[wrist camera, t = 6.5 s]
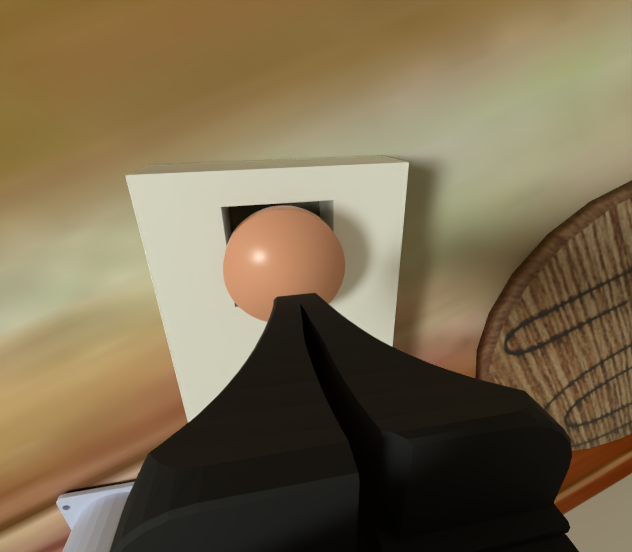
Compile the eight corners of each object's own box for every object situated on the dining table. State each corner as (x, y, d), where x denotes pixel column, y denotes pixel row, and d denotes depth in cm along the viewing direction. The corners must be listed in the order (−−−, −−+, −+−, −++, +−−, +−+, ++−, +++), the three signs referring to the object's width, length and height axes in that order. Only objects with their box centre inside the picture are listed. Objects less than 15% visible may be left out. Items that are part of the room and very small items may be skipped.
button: (328, 284, 19) (344, 316, 16) (234, 293, 18) (231, 329, 15) (328, 191, 17) (345, 206, 14) (221, 197, 16) (213, 215, 13)
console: (366, 420, 27) (382, 460, 24) (211, 446, 25) (205, 493, 22) (381, 155, 18) (408, 162, 15) (149, 165, 16) (125, 175, 13)
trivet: (423, 304, 23) (437, 318, 22) (762, 86, 21) (807, 82, 19) (520, 471, 34) (534, 489, 33) (751, 339, 32) (779, 351, 30)
